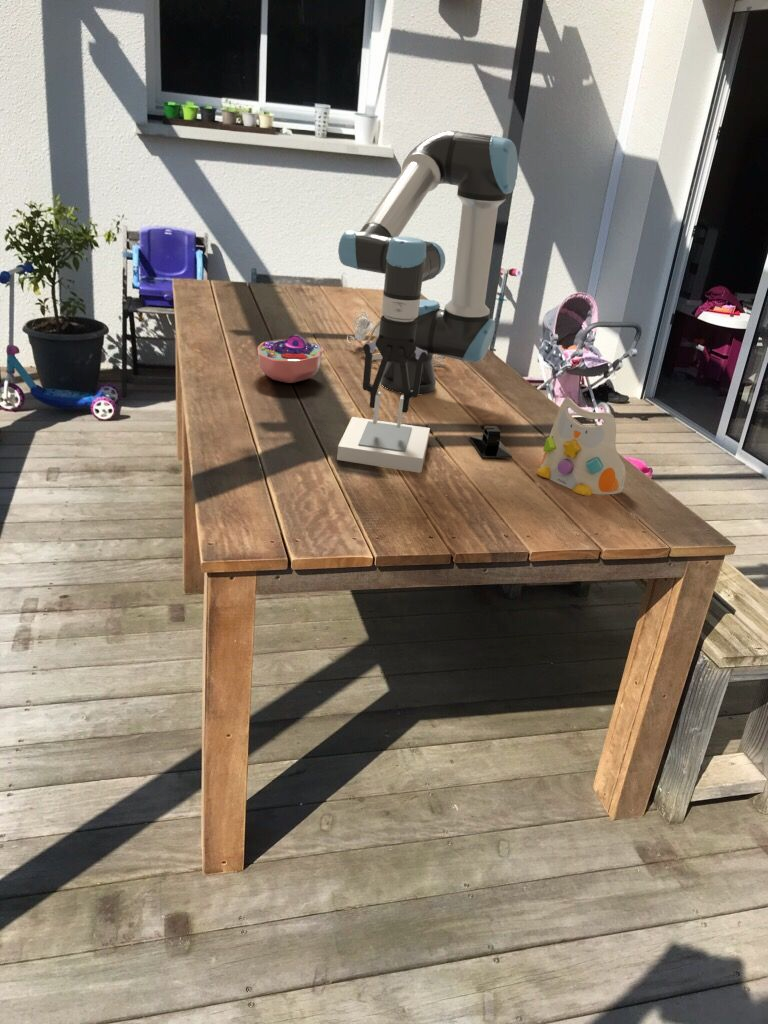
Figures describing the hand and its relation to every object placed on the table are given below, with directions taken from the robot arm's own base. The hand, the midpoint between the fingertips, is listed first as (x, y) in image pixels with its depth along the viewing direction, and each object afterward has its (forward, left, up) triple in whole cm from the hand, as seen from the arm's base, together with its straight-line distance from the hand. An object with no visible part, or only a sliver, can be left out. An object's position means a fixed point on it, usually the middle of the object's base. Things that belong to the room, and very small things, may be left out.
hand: (387, 423), depth 180 cm
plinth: (0, 0, -7) cm, 7 cm away
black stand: (-10, +23, -9) cm, 27 cm away
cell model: (-40, -31, -7) cm, 51 cm away
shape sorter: (0, +41, -7) cm, 42 cm away
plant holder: (-78, -7, -9) cm, 79 cm away
